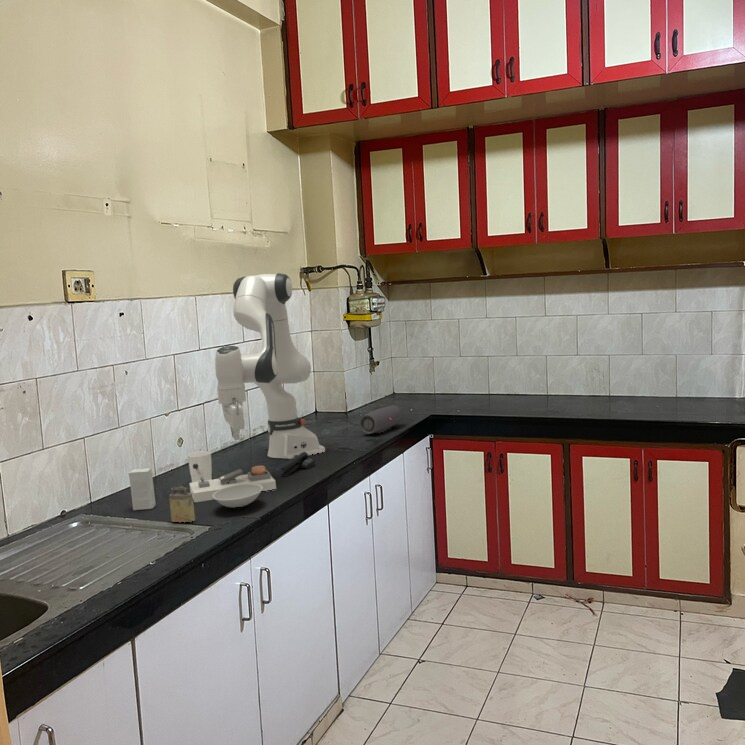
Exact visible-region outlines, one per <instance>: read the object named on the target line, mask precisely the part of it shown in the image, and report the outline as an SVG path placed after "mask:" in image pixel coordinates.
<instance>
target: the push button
mask: <svg viewBox="0 0 745 745" xmlns="http://www.w3.org/2000/svg"><path fill="white" fill-rule="evenodd" d="M265 470H266V466H265V465H255V466H252V467H251V472H252V475H253V476H256V475H263V474H266V471H265Z"/></svg>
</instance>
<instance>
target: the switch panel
mask: <svg viewBox="0 0 745 745" xmlns="http://www.w3.org/2000/svg"><path fill="white" fill-rule="evenodd" d="M265 471H266V474H263V475H256V476H253V475H252V471H249V472H247V474H243V475H241V476H238V477H236V478H233V479H231V480H229V481H226V482H224V483H221V482H220V480H219V478H214V479H212V480H206V481H204V482H202V481H199V482H192V481H191V482H189V491H190V492H189V493H192V497H193V503H201V502H207V501H213V500H215V499H213V498H212V495H213V494H214V493H215V492H216V491H218V490H220V489H222V488H225V487H229V486H233V485H238V484H249V483H252V484H259V485H262V486H263V490H262V491H266V492H268V491H267V490H272V489H276V490H277V484H276V483H277V482H276V479H275V478H274V477H273V476H272V475H271V473H270V472H269V470H268V469H265ZM272 491H273V490H272Z"/></svg>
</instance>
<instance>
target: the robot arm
mask: <svg viewBox="0 0 745 745" xmlns="http://www.w3.org/2000/svg"><path fill="white" fill-rule="evenodd" d="M232 285H233V286H232V292H233V298H234V302H233V316H234V319H235V320H236V322H237V323H238V324H239V325H241V326H242V327H243V328H245V329H247V330H250V331H254V332H256V333H259V334H260V339H261V351H259V352H256V353H241V350H240V347H238V346H236V345H227V346H222V347H220V348H217V350H216V351H215V358H214V359H215V360H214V361H215V376H216V379H217V386H216V387H217V398H218V399H217V400H218V401H217V402H218V404H220V405H221V408H222V413H223V418H224V420H225V422H226V423H227V424H228V425H229V428H230V432H231V437H232V438H233V439H234V441H239V440H240V436H241V435H240V431H241V430H243V429H245V418H244V417H245V416H244V410H243V406H244V404H243V403H244V402H246V401H247V395H246V385H245V384H248V383H249V384H250V383H254V384H255V385H256V386H257V387H258V388H259V389H260V391H261V392H262V394H263V396H264V398H265V401H266V406H267V407H266V408H267V416H268V420H267V431H268V435H269V443H268V444H269V445H268V451H267V457H268V458H272V459H285V460H286V459H288V460H291V459H292V458H294V455H297V454H300V453H302V452H306V453H307V454H308V456H313V455H318V454H317V453H319V454H323V453H325V452H326V447H325V446H323V445H321V444H320V443H319V442H320V441H319V438H318V437H317V435H316V434H315V433H314V432H312V431H311V430H309V429H308V428H306V427H305V426H303V425H305V424H306V422H307V421H306V420H305V419H304V418H300V417H298V413H297V401H296V398H295V396H294V395H293V394H292V393H289V392H287V391H286V390H285V389H284V387H283V385H282V384H285V385H286V384H299V383H301V382H306V381H307V380H308V379H309V378H310V375H311V372H312V366H311V363H310V361H309V359H308V358H307V357H306V356H304V355H303V354H302V353H301V352H300V351H299V350H298V349H297V348H296V346H295V345H294V343H293V339H292V337H291V331H290V326H289V317H288V311H287V306H286V303H287V302H288V301H289V300H290V299H291V297H292V294H293V283H292V280H291V278H290V277H289V276H288V275H287V274H286V273H280V272H279V273H278V272H277V273H261V274H256V275H248V276H247V275H246V276H241V277H239V278H237V279H236V280H235V281H234V283H233V284H232ZM322 452H323V453H322ZM312 454H313V455H312Z"/></svg>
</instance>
